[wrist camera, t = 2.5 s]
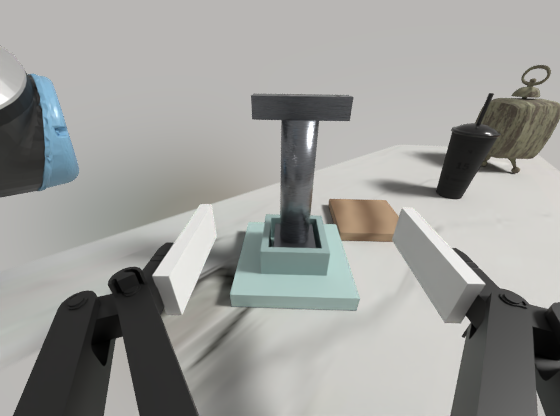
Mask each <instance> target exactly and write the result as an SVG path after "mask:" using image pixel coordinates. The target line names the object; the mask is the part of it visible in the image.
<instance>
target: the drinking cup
mask: <svg viewBox="0 0 560 416" xmlns="http://www.w3.org/2000/svg"><path fill="white" fill-rule="evenodd" d="M493 95H494V94H493V93H489V95H488V97H487V100H486V102H485V104H484V107H483V109H482V111H481V114H480V116H479V119H478V121H477V123H471V124H464V125H460V126H457V127H453V128H452V129H451V131H452V135H451V139H450V143H449V146H448V150H447V153H446V157H445V161H444V164H443V168H442V172H441V175H440V179H439V183H438V186H437V190H436V192H437V193H438V194H439V195H441V196H443V197H446V198H451V199H460V198H462V196H463V194H464V193H465V191H466V189H467V188H468V186H469V184H470V183H471V181H472V179H473V178H474V176H475V174H476V173H477V171H478V169H479V168H480V166H481V164H482V163H483V161H484V159H485V158H486V156H487V154H488V153H489V151H490V149H491V148H492V146H493V144H494V143H495V141H496V139H497V138H498V137H500V136H501V133H500V132H498V131H496V130H495V129H494V128H492V127H490V126H487V125H484V124H481V122H482V120H483V118H484V115H485V113H486V111H487V109H488V106H489V104H490V102H491V99H492V97H493Z"/></svg>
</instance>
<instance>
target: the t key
mask: <svg viewBox="0 0 560 416" xmlns="http://www.w3.org/2000/svg"><path fill="white" fill-rule="evenodd" d="M251 101H252V119H259V120H260V119H261V120H282V126H281V130H282V131H281V197H280V223H275V234H274V247H286V248H316V246H315V240H314V234H313V227H312V224H309V223H310V212H311V202H312V191H313V180H314V168H315V157H316V147H317V136H318V126H319V121H322V120H324V121H350V115H351V109H352V102H353V97H352V96H349V95H305V94H304V95H303V94H253V95H252V96H251Z"/></svg>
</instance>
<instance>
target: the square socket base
mask: <svg viewBox="0 0 560 416" xmlns="http://www.w3.org/2000/svg"><path fill="white" fill-rule="evenodd" d="M275 223H280V215H268V214H266V217H265V223H262V222H249V223H248V227H247V231H246V234H245V238H244V242H243V246H242V250H241V254H240V258H239V261H238V265H237V269H236V273H235V277H234V281H233V285H232V288H231V292H230V299H231V305H232V307H263V308H294V309H326V310H357V307H358V304H359V300H360V297H359V294H358V291H357V288H356V285H355V282H354V279H353V276H352V272H351V269H350V266H349V263H348V260H347V257H346V254H345V251H344V247H343V244H342V241H341V238H340V235H339V232H338V229H337V226H336V224H323V221H322V217H321V216H310V223H309V224H312V227H313V234H314V240H315V246H316V248H286V247H274V234H275Z"/></svg>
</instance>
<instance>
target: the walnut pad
mask: <svg viewBox="0 0 560 416" xmlns="http://www.w3.org/2000/svg"><path fill="white" fill-rule="evenodd" d="M329 209H330V212H331V215H332V218H333V222H334V224H336V226H337V229H338V232H339V235H340V238H341V240H349V241H387V242H393V241H392V238H393V235H394V232H395V228H396V225H397V222H398V219H399V217H398V215H397V214H396V213H395V211H394V210H393V209H392V208H391V206H390V205H389V204H388V202H387V201H386V200H351V199H329Z"/></svg>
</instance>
